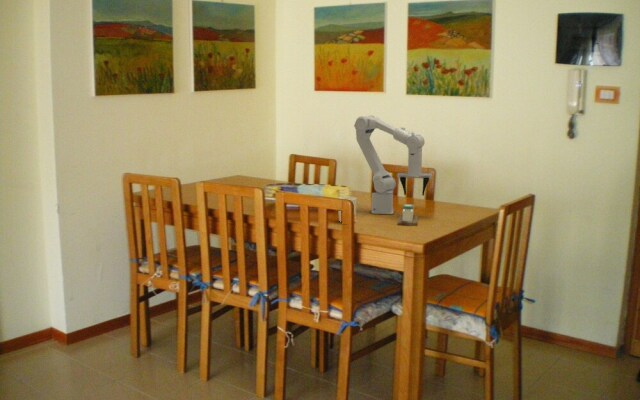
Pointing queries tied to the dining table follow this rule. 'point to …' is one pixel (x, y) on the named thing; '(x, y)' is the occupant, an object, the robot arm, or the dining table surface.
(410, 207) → the block
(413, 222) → the mounting board
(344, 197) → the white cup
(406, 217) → the block
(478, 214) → the dining table surface
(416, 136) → the robot arm
